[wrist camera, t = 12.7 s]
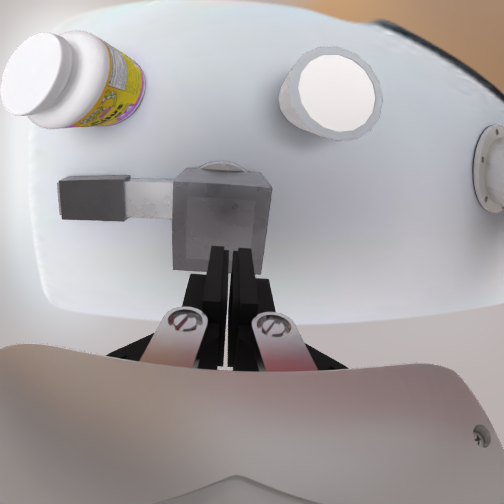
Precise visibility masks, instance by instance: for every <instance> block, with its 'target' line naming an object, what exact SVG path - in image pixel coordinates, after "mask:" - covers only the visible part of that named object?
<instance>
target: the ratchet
mask: <svg viewBox="0 0 504 504" xmlns="http://www.w3.org/2000/svg"><path fill="white" fill-rule="evenodd" d="M199 169H217V170H232V171H245V172H247V171H246V170H245V169H244V168H242V167H241V166H239V165H237V164H234V163H231V162H226V161H215V162H210V163H207V164H204V165H202V166H200V167H199ZM173 181H174V179H130V175H106V176H73V177H67V178H64V179H62V180H60V181H59V183H57V188H58V201H59V211H60V215H62V219H66V220H99V221H125V220H126V219H127V218H128V217H142V218H163V219H172V207H173Z"/></svg>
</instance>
